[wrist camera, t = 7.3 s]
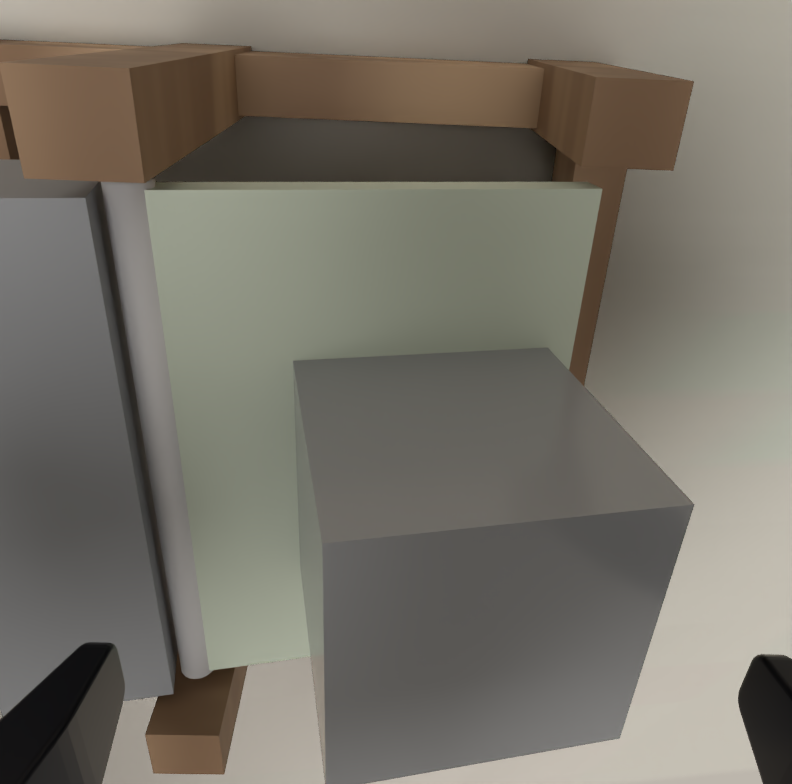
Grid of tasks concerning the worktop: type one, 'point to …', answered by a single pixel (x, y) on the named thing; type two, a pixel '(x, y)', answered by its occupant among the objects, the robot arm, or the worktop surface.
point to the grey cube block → (472, 559)
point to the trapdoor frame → (315, 99)
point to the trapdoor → (222, 387)
